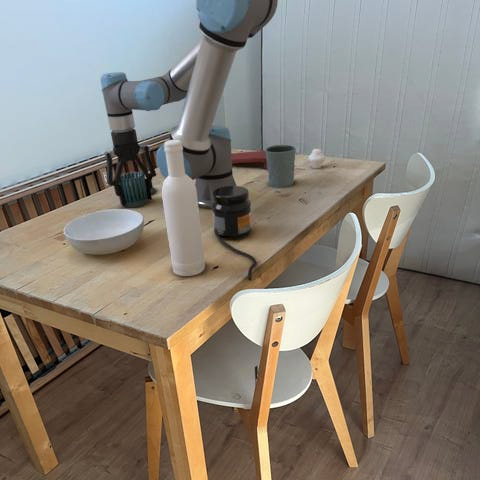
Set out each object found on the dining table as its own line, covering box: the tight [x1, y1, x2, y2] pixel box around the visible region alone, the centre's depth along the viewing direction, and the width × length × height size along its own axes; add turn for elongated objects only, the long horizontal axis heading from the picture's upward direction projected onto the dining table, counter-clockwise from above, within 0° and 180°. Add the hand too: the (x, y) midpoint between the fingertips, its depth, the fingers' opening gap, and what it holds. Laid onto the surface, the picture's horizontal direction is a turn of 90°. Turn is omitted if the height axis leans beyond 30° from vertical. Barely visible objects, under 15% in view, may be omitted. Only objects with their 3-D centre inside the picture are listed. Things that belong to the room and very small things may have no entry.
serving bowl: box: [62, 208, 145, 256], centre depth 130 cm, size 21×21×7 cm
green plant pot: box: [264, 144, 297, 188], centre depth 166 cm, size 10×10×12 cm
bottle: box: [161, 140, 206, 277], centre depth 110 cm, size 8×8×30 cm
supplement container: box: [211, 185, 253, 241], centre depth 132 cm, size 10×10×12 cm
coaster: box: [150, 187, 157, 196], centre depth 169 cm, size 11×11×1 cm
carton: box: [231, 149, 268, 170], centre depth 192 cm, size 12×5×25 cm
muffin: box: [308, 148, 326, 170], centre depth 181 cm, size 6×6×7 cm
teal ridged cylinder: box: [119, 171, 150, 208], centre depth 158 cm, size 9×8×8 cm
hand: (136, 201), depth 160 cm, fingers closed on teal ridged cylinder, 8 cm apart
